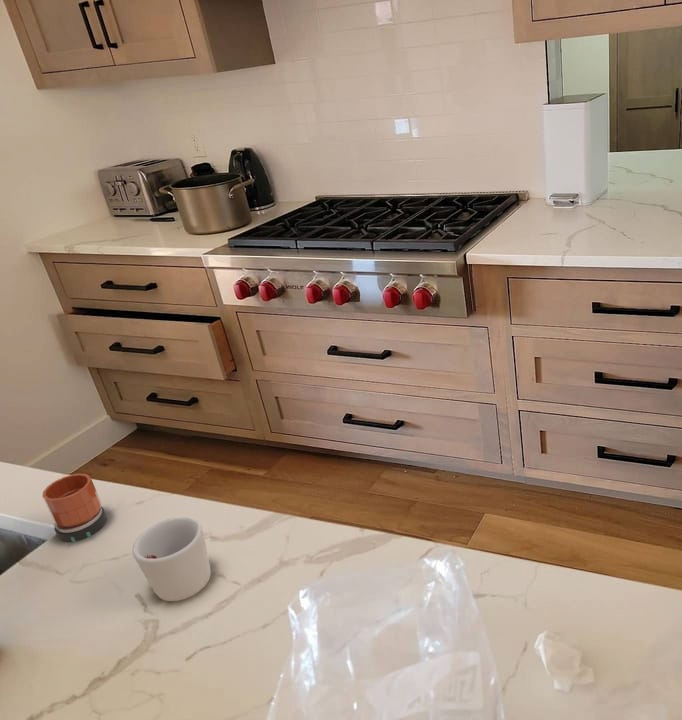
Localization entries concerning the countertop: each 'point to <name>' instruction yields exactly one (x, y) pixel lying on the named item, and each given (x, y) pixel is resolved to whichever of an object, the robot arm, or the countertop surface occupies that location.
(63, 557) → the countertop surface
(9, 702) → the countertop surface
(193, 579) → the cup
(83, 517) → the terracotta plant pot
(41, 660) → the countertop surface
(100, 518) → the scale
